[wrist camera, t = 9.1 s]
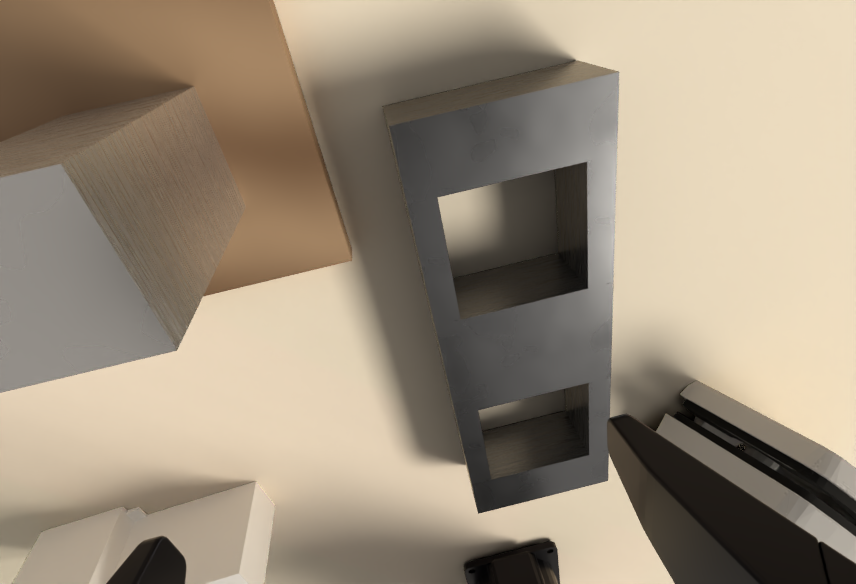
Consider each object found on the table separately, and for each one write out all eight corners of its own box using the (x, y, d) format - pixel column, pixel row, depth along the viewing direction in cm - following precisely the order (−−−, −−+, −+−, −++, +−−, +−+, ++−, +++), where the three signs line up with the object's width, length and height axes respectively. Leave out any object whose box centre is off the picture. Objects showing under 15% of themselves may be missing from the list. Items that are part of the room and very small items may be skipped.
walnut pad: (351, 248, 19) (352, 260, 18) (106, 307, 19) (95, 322, 18) (256, -53, 14) (250, -57, 13) (-89, 25, 13) (-118, 27, 13)
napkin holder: (317, 458, 26) (310, 563, 21) (268, 573, 31) (253, 679, 26) (-15, 408, 21) (-121, 529, 16) (-10, 553, 26) (-91, 679, 21)
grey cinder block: (583, 436, 27) (607, 480, 25) (465, 465, 27) (478, 513, 25) (577, 60, 17) (619, 71, 14) (382, 106, 16) (389, 126, 14)
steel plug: (245, 207, 17) (176, 350, 10) (132, 233, 16) (-15, 396, 10) (194, 86, 14) (60, 164, 8) (63, 115, 14) (-187, 220, 8)
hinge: (622, 431, 28) (806, 564, 19) (669, 366, 28) (876, 467, 19) (745, 519, 35) (919, 644, 26) (782, 467, 35) (969, 574, 26)
